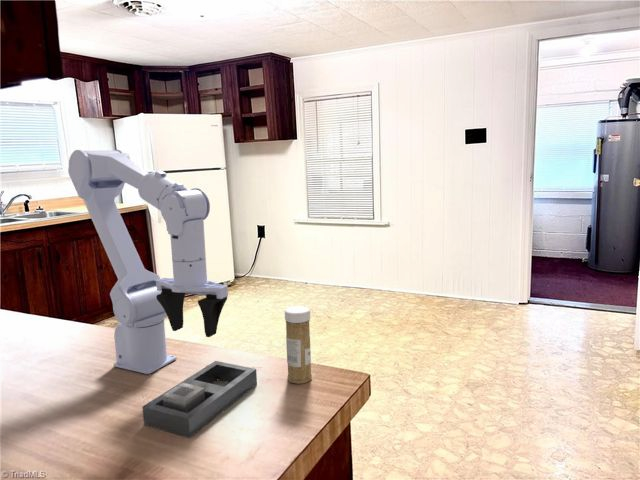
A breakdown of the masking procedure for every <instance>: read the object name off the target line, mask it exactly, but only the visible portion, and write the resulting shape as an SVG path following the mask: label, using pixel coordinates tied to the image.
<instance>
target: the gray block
mask: <svg viewBox="0 0 640 480" xmlns="http://www.w3.org/2000/svg"><path fill="white" fill-rule="evenodd" d="M180 383H181V382H180ZM178 384H179V383H178ZM178 384H177V385H178ZM175 386H176V385H175ZM173 387H174V386H173ZM173 387H172V388H173ZM170 389H171V388H170ZM170 389H169V390H170ZM167 391H168V390H167ZM165 392H166V391H165ZM165 392H164V393H165ZM162 394H163V393H162ZM162 394H161V395H162ZM162 398H163V407H166V408H170V409H174V410H177V411H181V412H185V413H189V412H190V411H191V410H193V409H194V408H196V407H197V406H198V405H200V404H201V403H203V402H204V401H205V391H204V388H203V387H198V386H194V385H190V384H186V383H181V384H179V385H178V386H176V387H174V388H173V389H171V390H170V391H168V392H166V393H165V394H163V395H162Z"/></svg>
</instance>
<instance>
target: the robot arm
mask: <svg viewBox="0 0 640 480" xmlns="http://www.w3.org/2000/svg"><path fill="white" fill-rule="evenodd" d="M67 170H68V171H67V173H68V175H69V178H70V180H71V182H72V185H73V186H74V189H75V191H76V193H77V195H78V198H80V199H81V200H82V201H83V202H84V204H85V207H86V209H87V212H88V215H89V216H90V218H91V222H93V223H92V224H93V225H94V228H95V230H96V232H97V234H98V237H99V239H100V242H101V243H102V247H103V248H104V251H105V253H106V256H107V258H108V259H109V260H108V261H110V264H111V267H112V268H113V271H114V274H115V275H116V277H117V281H116V282H115V284H114V286H113V287H112V288H111V290H110V292H109V297H110V299H111V302H112V303H111V304H112V309H113V314H114V317H115V318H116V320H117V321H118V323H117V325H116V327H115V328H114V346H115V358H116V362H114V363H113V367H117V368H120V369H124V370H129V371H132V372H137V373H141V374H145V375H150V374H151V373H153V372H155V371H157V370H159V369H161V368H162V367H164V366H166V365H169V364H170V363H172V362H173V361H175V360H177V356H175V355H172V354H168V353H167V340H166V327H165V319H166V318H167V319H168V321H169V324H170V327H171V330H172V331H173V332H177V331H179V330H181V329H182V328H184V303H185V296H186V294H192V295H198V296H199V295H200V296H205V297H204V298H201V299H198V300H197V304H198V307H199V308H200V311H201V314H202V318H203V327H204V328H203V329H204V334H205V337H206V338H210V337H213V336H214V335H216V334H217V331H218V324H219V319H220V316H221V313H222V312H223V311H222V310H223V308H224V306H225V304H226V302H227V300H228V297H229V290H228V288H229V287H228V285H226V284H221V283H218V282H215V281H211V280H209V279H208V274H207V273H208V272H207V257H206V255H207V253H206V240H205V237H206V236H205V226H204V225H205V223H204V220H206V219H207V218H208V216H209V215H210V210H211V203H210V199H209V197H208V195H207V194H206V193H205V192H204V191H203V190H202V189H201V188H199V187H194V188H191V189H189V188H187V187H185V186H184V183H181V182H176V181H175V180H173V179H172V178H169V177H168V176H167V173H166V172H165V171H163V170H158V171H157V170H156V171H151V172H148V171H146V170H145V169H144V168H143V167H141V166H139V165H138V164H137V163H135V162H134V161H132V160H131V157H130V155H129V153H127V152H124V151H123V150H121V149H114V150H81V149H75V150H74V151H73V152H72V153H71V154H70V156H69V159H68V168H67ZM125 184H127V185H130V186H131V187H133V188H134V189H137V191H138V195H139V197H140V198H141V199H142V200H143V201H144V202H145V203H148V204H149V205H151V206H153V207H154V208H156V209H157V210H159V211H160V213H161V216H162V218H163V221H165V225H166V231H167V234H168V235H169V236H170V248H171V261H172V275H173V278H171V277H170V278H168V277H162V278H161V277H160V275H158V274H156V273H155V272H152V271H149V270H147V269H146V268H145V266H144V264H143V261H142V260H141V257H140V255H139V253H138V251H137V248H136V247H135V244H134V242H133V239H132V237H131V235H130V234H129V231H128V227H126V224H125V222H124V219H123V217H122V215H121V213H120V211H119V208H118V207H117V203H116V201H115V199H116V198H117V197H119V196H120V195H121V194H122V191H123V189H124V187H125Z"/></svg>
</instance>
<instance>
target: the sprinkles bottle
mask: <svg viewBox="0 0 640 480" xmlns="http://www.w3.org/2000/svg"><path fill="white" fill-rule="evenodd" d="M284 320H285V329H286V332H285V333H286V335H285V339H286V340H285V341H286V342H285V343H286V345H285V346H286V363H287V381H288V382H290V383H293V384H298V385H300V384H306V383H307V382H310V381H311V380H312V377H313V376H312V367H311V362H312V360H311V359H312V354H311V336H310V335H311V333H310V321H311V310H310V308H309V307H307V306H303V305H294V306H289V307H286V309H284Z"/></svg>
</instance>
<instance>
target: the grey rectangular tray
mask: <svg viewBox="0 0 640 480" xmlns="http://www.w3.org/2000/svg"><path fill="white" fill-rule="evenodd" d="M257 377H258V376H257V369H256V368H253V367H248V366H243V365H237V364H233V363H228V362H223V361H219V360H214V361H213V362H211V363H209V364H208V365H206V366H205V367H204V368H202V369H200V370H198V371H197V372H195V373H194V374H192V375H190V376H189V377H187V378H185V379H184V380H183V381H181V382H179V383H177V384H176V385H174V386H173V387H171V388H170V389H168V390H167V391H165V392H163V393H162V394H160V395H159V396H157V397H155V398H154V399H153V400H151V401H149V402H147V403H146V404H144V405H142V416H143V425H144V426H148V427H152V428H155V429H158V430H161V431H165V432H169V433H173V434H175V435H178V436H182V437H186V438H189V439H191V438H192V437H194V436H195V435H196V434H197V433H198V432H199V431H201V430H202V429H203V428H204V427H206V426H207V425H209V423H211V422H212V421H213V420H215V419H216V418H217V417H218V416H220V415H221V414H222V413H223V412H225V411H226V410H227V409H228V408H231V406H232V405H233V404H235V403H236V402H238V400H240V399H241V398H242V397H243V396H245V395H247V393H249V392H250V391H251V390H252V389H254V388H255V387H256V386H257V385H258V378H257ZM217 381H222V382H226V383H228V384H226V385H225V386H222V385H217V384H214V383H215V382H217ZM181 383H186V384H190V385H194V386H198V387H203V388H204V391H205V401H204V402H203V403H201V404H200V405H198V406H197V407H196V408H194V409H193V410H191V411H190V412H189V413H185V412H181V411H177V410H174V409H170V408H166V407H163V398H162V395H163V394H165V393H166V392H168V391H170V390H171V389H173V388H174V387H176V386H178V385H179V384H181Z"/></svg>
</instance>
